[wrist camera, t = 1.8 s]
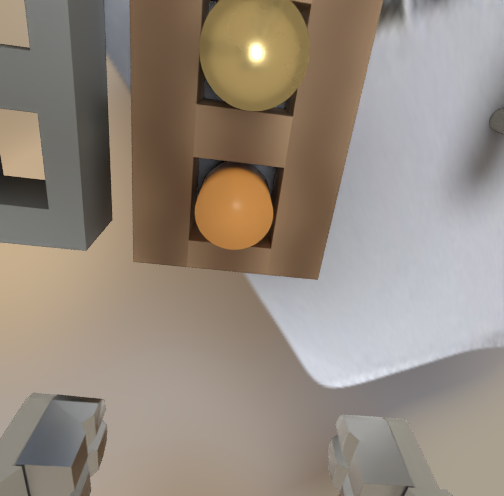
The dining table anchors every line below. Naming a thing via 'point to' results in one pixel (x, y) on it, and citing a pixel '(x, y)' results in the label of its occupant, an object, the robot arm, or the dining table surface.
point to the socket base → (241, 136)
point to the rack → (60, 126)
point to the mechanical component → (497, 121)
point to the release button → (234, 206)
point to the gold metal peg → (254, 52)
